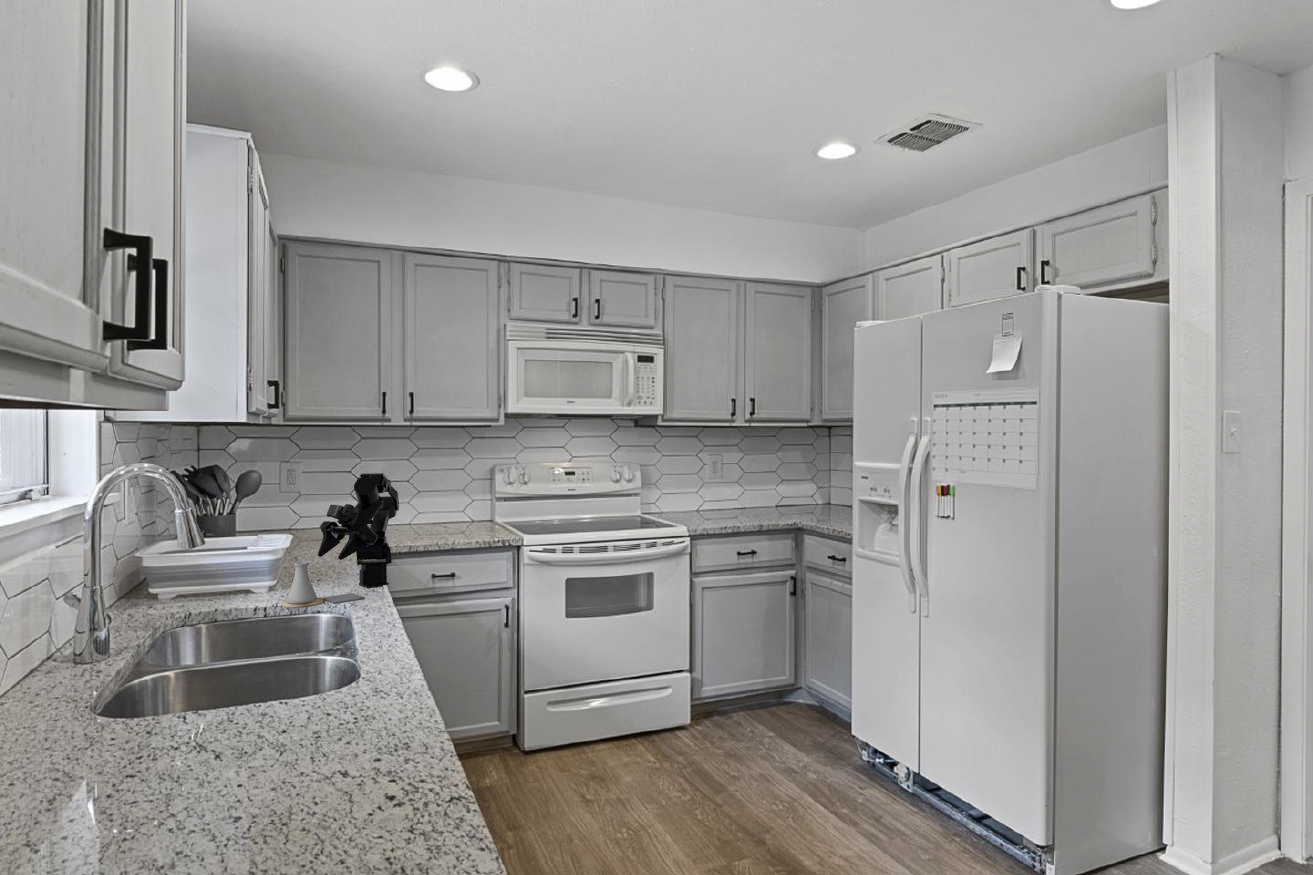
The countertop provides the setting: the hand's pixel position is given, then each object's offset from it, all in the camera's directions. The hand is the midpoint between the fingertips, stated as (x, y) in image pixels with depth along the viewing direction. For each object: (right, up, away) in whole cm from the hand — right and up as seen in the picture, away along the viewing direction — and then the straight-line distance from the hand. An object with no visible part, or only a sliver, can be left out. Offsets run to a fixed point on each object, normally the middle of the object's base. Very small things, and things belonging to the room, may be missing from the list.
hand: (328, 557), depth 209 cm
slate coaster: (+5, -11, -2) cm, 12 cm away
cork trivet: (-4, -11, -7) cm, 13 cm away
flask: (-4, -11, -7) cm, 13 cm away
